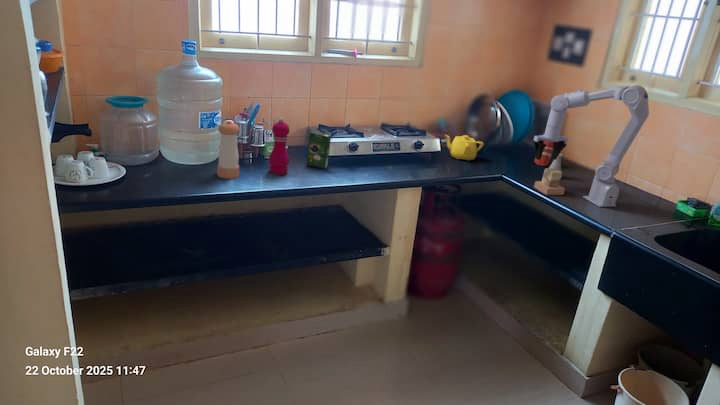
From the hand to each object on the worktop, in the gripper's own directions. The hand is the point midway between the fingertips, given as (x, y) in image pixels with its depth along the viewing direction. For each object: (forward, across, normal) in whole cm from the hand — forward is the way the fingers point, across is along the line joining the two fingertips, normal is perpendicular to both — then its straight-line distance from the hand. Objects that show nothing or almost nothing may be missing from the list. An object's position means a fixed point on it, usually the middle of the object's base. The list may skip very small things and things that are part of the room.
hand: (545, 159), depth 206 cm
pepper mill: (+11, +104, -14) cm, 105 cm away
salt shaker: (+11, +122, -11) cm, 123 cm away
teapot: (+11, +19, -32) cm, 39 cm away
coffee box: (+11, +88, -20) cm, 91 cm away
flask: (+11, -13, -8) cm, 19 cm away
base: (+10, +2, +8) cm, 13 cm away
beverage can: (+11, -18, -23) cm, 31 cm away
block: (+8, +2, +8) cm, 11 cm away
